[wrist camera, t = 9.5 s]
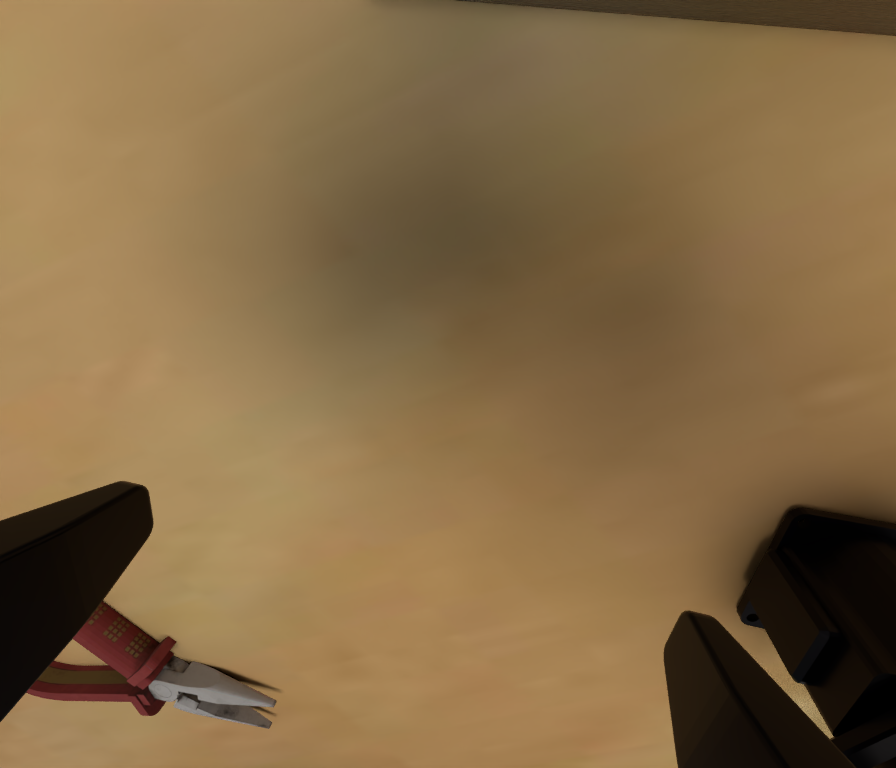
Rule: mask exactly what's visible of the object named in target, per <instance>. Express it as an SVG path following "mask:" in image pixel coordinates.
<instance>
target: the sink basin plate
mask: <svg viewBox="0 0 896 768" xmlns="http://www.w3.org/2000/svg"><path fill="white" fill-rule="evenodd" d="M461 1H474V2H486V3H499V4H511V5H524V6H536V7H549V8H561V9H573V10H586V11H598V12H611V13H623V14H636V15H648V16H660V17H673V18H685V19H698V20H710V21H723V22H735V23H747V24H760V25H772V26H785V27H797V28H810V29H822V30H834V31H847V32H859V33H872V34H884V35H896V0H461Z"/></svg>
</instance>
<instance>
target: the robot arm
mask: <svg viewBox="0 0 896 768" xmlns="http://www.w3.org/2000/svg"><path fill="white" fill-rule="evenodd" d="M802 519H805V520H804V521H802V522H799V520H802ZM152 528H153V515H152V509H151V503H150V496H149V492H148V490H147V488H146V487H145V486H143V485H140V484H135V483H131V482H126V481H119V482H115V483H112V484H109V485H106V486H103V487H100V488H97V489H94V490H91V491H88V492H85V493H82V494H79V495H76V496H73V497H70V498H67V499H64V500H61V501H58V502H55V503H52V504H49V505H46V506H43V507H40V508H37V509H34V510H31V511H28V512H25V513H22V514H19V515H16V516H13V517H10V518H7V519H4V520H1V521H0V722H1V721H2V720H3V719H4V717H5V716H6V715H7V714H8V713H9V712H10V710H11V709H12V708H13V707H14V706H15V705H16V703H17V702H18V701H19V700H20V699H21V698H22V697H23V695H24V694H25V693H26V692H27V691H28V690H29V688H30V687H31V686H32V685H33V684H34V683H35V681H36V680H37V679H38V678H39V677H40V676H41V675H42V673H43V672H44V671H45V670H46V669H47V668H48V666H49V665H50V664H51V663H52V662H53V661H54V659H55V658H56V657H57V656H58V655H59V654H60V653H61V651H62V650H63V649H64V648H65V647H66V646H67V644H68V643H69V642H70V641H71V640H72V639H73V637H74V636H75V635H76V634H77V633H78V632H79V630H80V629H81V628H82V627H83V626H84V624H85V623H86V622H87V621H88V619H89V618H90V617H91V615H92V614H93V613H94V612H95V610H96V609H97V608H98V606H99V605H100V604H101V602H102V601H103V600H104V598H105V597H106V595H107V594H108V593H109V591H110V590H111V589H112V587H113V586H114V584H115V583H116V582H117V580H118V579H119V577H120V576H121V575H122V573H123V572H124V571H125V569H126V568H127V566H128V565H129V564H130V562H131V561H132V560H133V558H134V557H135V555H136V554H137V553H138V551H139V550H140V549H141V547H142V546H143V544H144V543H145V542H146V540H147V539H148V537H149V536H150V534H151V532H152ZM737 613H738V615H739V617H740V619H741V621H742V622H743V623H744V624H746V625H750V626H754V627H759V628H764V629H765V630H766V632H767V634H768V635H769V637H770V639H771V641H772V643H773V645H774V646H775V648H776V650H777V652H778V654H779V656H780V657H781V659H782V661H783V663H784V665H785V667H786V669H787V670H788V672H789V674H790V675H791V677H792V678H793V679H794V681H795V682H797V683H801V684H804V685H805V687H806V689H807V690H808V692H809V694H810V696H811V698H812V699H813V701H814V703H815V705H816V706H817V708H818V710H819V712H820V714H821V715H822V717H823V719H824V721H825V722H826V724H827V726H828V728H829V730H830V731H831V733H832V735H833V736H834V737H833V738H831V739H829V738H828V737H827V736H826V735H825V734H824V733H823V732H822V731H821V730H820V729H819V728H818V727H817V725H816V724H815V723H814V722H813V721H812V720H811V719H810V718H809V717H808V716H807V715H806V714H805V713H804V712H803V711H802V710H801V708H800V707H799V706H798V705H797V704H796V703H795V702H794V701H793V700H792V699H791V698H790V697H789V696H788V695H787V694H786V693H785V692H784V690H783V689H782V688H781V687H780V686H779V685H778V684H777V683H776V682H775V681H774V680H773V679H772V678H771V677H770V676H769V675H768V674H767V672H766V671H765V670H764V669H763V668H762V667H761V666H760V665H759V664H758V663H757V662H756V661H755V660H754V659H753V658H752V657H751V655H750V654H749V653H748V652H747V651H746V650H745V649H744V648H743V647H742V646H741V645H740V644H739V643H738V642H737V641H736V640H735V639H734V637H733V636H732V635H731V634H730V633H729V632H728V631H727V630H726V629H725V628H724V627H723V626H722V625H721V624H720V623H719V622H718V621H717V620H716V619H715V618H714V617H712V616H710V615H706V614H702V613H697V612H693V611H684V612H683V613H681V615H680V616H679V618H678V620H677V622H676V624H675V626H674V628H673V630H672V632H671V634H670V636H669V638H668V640H667V642H666V645H665V648H664V666H665V673H666V681H667V689H668V696H669V704H670V712H671V720H672V727H673V735H674V743H675V750H676V757H677V764H678V768H896V524H892V523H886V522H881V521H875V520H869V519H864V518H858V517H852V516H847V515H841V514H835V513H830V512H824V511H818V510H813V509H807V508H796V509H793V510H791V511H789V512H788V513H787V515H786V516H785V518H784V520H783V522H782V524H781V526H780V528H779V530H778V532H777V534H776V535H775V537H774V539H773V541H772V543H771V545H770V547H769V549H768V551H767V552H766V553H765V555H764V557H763V559H762V561H761V563H760V565H759V567H758V569H757V571H756V573H755V575H754V577H753V578H752V580H751V582H750V584H749V586H748V588H747V590H746V593H745V595H744V597H743V599H742V601H741V603H740V605H739V607H738V609H737Z"/></svg>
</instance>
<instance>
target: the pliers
mask: <svg viewBox="0 0 896 768" xmlns="http://www.w3.org/2000/svg"><path fill="white" fill-rule="evenodd" d="M73 639H74V640H75V641H76V642H78V643H79V644H80V645H82V646H83V647H85V648H86V649H87V650H89V651H90V652H91V653H93V654H94V655H96V656H97V657H98V658H100V659H101V660H102V661H104V662H105V663H107V664H108V665H109V666H78V665H69V664H64V663H60V662H56V661H53V662H52V663H51V664H50V665H49V666H48V668H47V669H46V670H45V671H44V672H43V673H42V675H41V676H40V677H39V678H38V679H37V680H36V681H35V683H34V684H33V685H32V686H31V687H30V688H29V690H28V691H27V692H26V693H28V694H31V695H34V696H38V697H41V698H46V699H53V700H62V701H114V702H132V704H133V705H134V706H135V708H136V709H137V711H138V712H139V713H140V714H141V715H143V716H153V715H155V714H157V713H158V712H159V711H160V709H161V708H162V707H163V705H164V704H165V702H166V701H168V702H172V701H175V700H176V702H175V704H174V707H175V708H178V709H180V710H183V711H186V712H190V713H194V714H198V715H202V716H207V717H212V718H217V719H222V720H228V721H233V722H238V723H243V724H248V725H253V726H258V727H263V728H268V729H269V728H270V726H271V724H272V722H271V721H269V720H268V719H267V718H265V717H264V716H262V715H261V714H260V713H258V712H257V711H255V710H254V709H252V708H251V707H250V706H262V707H274V706H275V704H276V702H277V701H276V700H274V699H272V698H270V697H268V696H266V695H264V694H262V693H261V692H259V691H257V690H255V689H253V688H251V687H249V686H247V685H245V684H243V683H241V682H239V681H237V680H235V679H233V678H231V677H229V676H227V675H225V674H223V673H221V672H219V671H217V670H215V669H213V668H211V667H209V666H206V665H204V664H201V663H198V662H194V661H192V663H191V664H190V665H189V664H188V663H186V662H185V661H183V660H181V659H179V658H177V657H175V656H173V655H174V653H172V652H171V651H170V649H171V648H172V647H173V646H174V644H175V643H176V641H174V640H173V639H171V638H170V637H169V636H168V637H167V638H166V639H164V640H163V641H162V642H161V643H158V642H156V641H155V640H154V639H152V638H151V637H150V636H148V635H147V634H146V633H144V632H143V631H142V630H140V629H139V628H137V627H136V626H135V625H133V624H132V623H131V622H129V621H128V620H127V619H125V618H124V617H123V616H121V615H120V614H119V613H117V612H116V611H115V610H113V609H112V608H111V607H109V606H108V605H106V604H105V603H104V602H101V604H100V605H99V606H98V608H97V609H96V610H95V612H94V613H93V614H92V615H91V617H90V618H89V619H88V621H87V622H86V623H85V624H84V626H83V627H82V628H81V629H80V630H79V632H78V633H77V634H76V635H75V636H74V637H73Z"/></svg>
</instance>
